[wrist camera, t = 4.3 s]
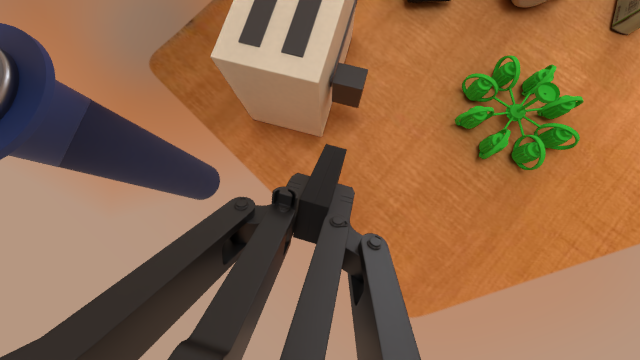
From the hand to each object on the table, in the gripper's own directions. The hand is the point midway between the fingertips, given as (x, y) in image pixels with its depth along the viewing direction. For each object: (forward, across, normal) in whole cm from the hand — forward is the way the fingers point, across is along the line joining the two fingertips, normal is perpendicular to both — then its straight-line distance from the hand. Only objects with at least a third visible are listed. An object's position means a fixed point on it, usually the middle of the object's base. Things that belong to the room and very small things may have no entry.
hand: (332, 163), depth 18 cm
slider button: (+15, -1, +1) cm, 15 cm away
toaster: (+21, -8, 0) cm, 23 cm away
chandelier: (+22, +20, +1) cm, 30 cm away
